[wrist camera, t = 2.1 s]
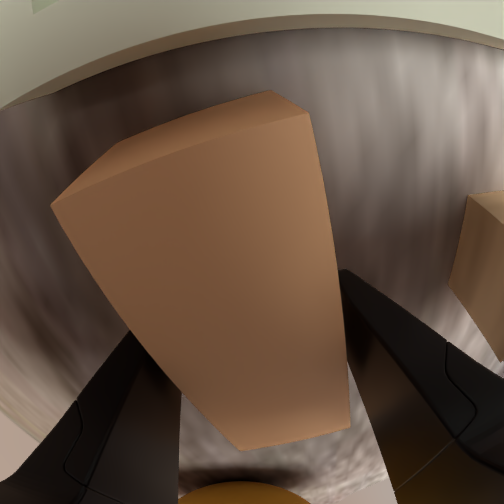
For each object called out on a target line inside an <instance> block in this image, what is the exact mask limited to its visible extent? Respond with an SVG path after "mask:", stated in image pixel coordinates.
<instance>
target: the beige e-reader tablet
mask: <svg viewBox="0 0 504 504" xmlns="http://www.w3.org/2000/svg"><path fill="white" fill-rule="evenodd" d="M448 285H449V287H450V288H451V290H452V291H453V292H454V294H455V295H456V296H457V298H458V299H459V300H460V302H461V303H462V305H463V306H464V307H465V309H466V310H467V312H468V313H469V315H470V316H471V318H472V319H473V320H474V322H475V323H476V325H477V326H478V328H479V329H480V331H481V332H482V334H483V336H484V337H485V339H486V340H487V342H488V343H489V345H490V347H491V348H492V350H493V351H494V353H495V355H496V356H497V358H498V360H499V361H500V362H502V361H504V190H502V191H494V192H487V193H479V194H472V195H468V197H467V203H466V209H465V214H464V220H463V225H462V229H461V234H460V239H459V243H458V247H457V252H456V256H455V260H454V264H453V267H452V271H451V275H450V278H449V282H448Z"/></svg>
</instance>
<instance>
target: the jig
mask: <svg viewBox="0 0 504 504" xmlns="http://www.w3.org/2000/svg"><path fill="white" fill-rule="evenodd" d="M307 28H374V29H389V30H401V31H410V32H419V33H426V34H433V35H439V36H445V37H451V38H456V39H461V40H466V41H470V42H475V43H479V44H483V45H487V46H491V47H494V48H498V49H502V50H504V0H0V111H1V110H4V109H6V108H9V107H12V106H14V105H17V104H20V103H23V102H26V101H29V100H32V99H35V98H38V97H41V96H45V95H48V94H51V93H54V92H56V91H59V90H61V89H63V88H65V87H67V86H69V85H72V84H74V83H76V82H79V81H81V80H83V79H86V78H88V77H91V76H93V75H96V74H98V73H101V72H103V71H106V70H109V69H111V68H114V67H117V66H120V65H123V64H125V63H128V62H131V61H134V60H138V59H141V58H144V57H147V56H151V55H154V54H157V53H161V52H165V51H168V50H172V49H176V48H180V47H184V46H188V45H193V44H197V43H202V42H206V41H211V40H216V39H222V38H227V37H233V36H240V35H246V34H253V33H261V32H270V31H280V30H292V29H307Z"/></svg>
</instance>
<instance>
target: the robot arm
mask: <svg viewBox="0 0 504 504" xmlns="http://www.w3.org/2000/svg"><path fill="white" fill-rule="evenodd" d="M338 277H339V285H340V294H341V302H342V312H343V321H344V331H345V343H346V355H347V361H348V364H349V367H350V369H351V372H352V374H353V377H354V380H355V382H356V385H357V388H358V390H359V393H360V396H361V398H362V401H363V404H364V406H365V409H366V412H367V414H368V417H369V420H370V423H371V426H372V428H373V431H374V434H375V437H376V440H377V442H378V445H379V448H380V451H381V454H382V457H383V460H384V463H385V466H386V469H387V472H388V475H389V478H390V481H391V484H392V487H393V490H394V491H395V492H394V494H395V497H396V500H397V503H398V504H504V379H503V378H501V377H500V376H498V375H497V374H495V373H493V372H492V371H490V370H489V369H487V368H486V367H484V366H483V365H481V364H479V363H478V362H476V361H475V360H474V359H472V358H471V357H469V356H468V355H467V354H465V353H464V352H462V351H461V350H460V349H458V348H457V347H456V346H454V345H453V344H452V343H450V342H447V340H446V339H445V338H443V337H442V336H441V335H439V334H438V333H437V332H435V331H434V330H433V329H431V328H430V327H429V326H427V325H426V324H424V323H423V322H422V321H420V320H419V319H418V318H416V317H415V316H413V315H412V314H411V313H409V312H408V311H406V310H405V309H404V308H402V307H401V306H399V305H398V304H397V303H395V302H394V301H392V300H391V299H390V298H388V297H387V296H385V295H384V294H383V293H381V292H380V291H378V290H377V289H375V288H374V287H373V286H371V285H370V284H368V283H367V282H365V281H364V280H362V279H361V278H360V277H358V276H357V275H355V274H354V273H352V272H351V271H349V270H348V269H341V270H338ZM181 393H182V392H181V391H180V389H179V388H178V387H177V386H176V385H175V384H174V383H173V382H172V380H171V379H170V378H169V377H168V376H167V375H166V374H165V372H164V371H163V370H162V369H161V368H160V366H159V365H158V364H157V363H156V362H155V360H154V359H153V358H152V357H151V356H150V354H149V353H148V352H147V351H146V349H145V348H144V347H143V346H142V344H141V343H140V342H139V341H138V339H137V338H136V337H135V335H134V334H133V333H132V331H131V330H129V332H128V333H127V334H126V335H125V337H124V338H123V339H122V340H121V342H120V343H119V344H118V345H117V347H116V348H115V349H114V350H113V352H112V353H111V354H110V355H109V357H108V358H107V359H106V361H105V362H104V363H103V364H102V366H101V367H100V368H99V370H98V371H97V372H96V373H95V375H94V376H93V377H92V379H91V380H90V381H89V383H88V384H87V385H86V386H85V388H84V389H83V390H82V392H81V393H80V394H79V396H78V397H77V400H75V401H74V402H73V403H72V405H71V406H70V407H69V409H68V410H67V411H66V413H65V414H64V415H63V417H62V418H61V419H60V421H59V422H58V423H57V424H56V426H55V427H54V428H53V429H52V430H51V432H50V433H49V434H48V435H47V436H46V438H45V439H44V440H43V441H42V442H41V443H40V444H39V446H38V447H37V448H36V449H35V450H34V451H33V452H32V454H31V455H30V456H29V457H28V458H27V459H26V460H25V462H24V463H23V464H22V465H21V466H20V467H19V469H18V470H17V471H16V472H15V473H14V474H13V475H11V476H10V477H8V478H7V479H5V480H3V481H1V482H0V504H178V468H179V434H180V412H181Z"/></svg>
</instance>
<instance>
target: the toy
mask: <svg viewBox="0 0 504 504" xmlns="http://www.w3.org/2000/svg"><path fill="white" fill-rule="evenodd" d="M178 504H310V503H309V502H308V501H306V500H305V499H303V498H302V497H300V496H298V495H296V494H294V493H293V492H290V491H288V490H285V489H283V488H280V487H277V486H273V485H269V484H265V483H259V482H249V481H232V482H223V483H217V484H213V485H209V486H205V487H202V488H200V489H197V490H194V491H192V492H190V493H188V494H186V495H184V496H183V497H181V498H180V499H178Z"/></svg>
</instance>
